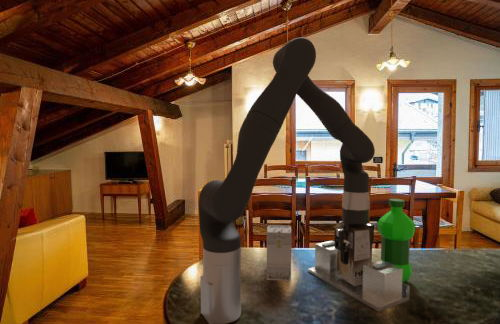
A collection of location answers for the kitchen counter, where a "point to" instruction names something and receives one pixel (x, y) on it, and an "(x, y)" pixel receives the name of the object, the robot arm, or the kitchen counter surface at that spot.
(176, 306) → the kitchen counter surface
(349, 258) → the coffee box
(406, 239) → the plastic bottle
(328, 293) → the kitchen counter surface
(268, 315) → the kitchen counter surface
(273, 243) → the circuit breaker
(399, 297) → the plate
